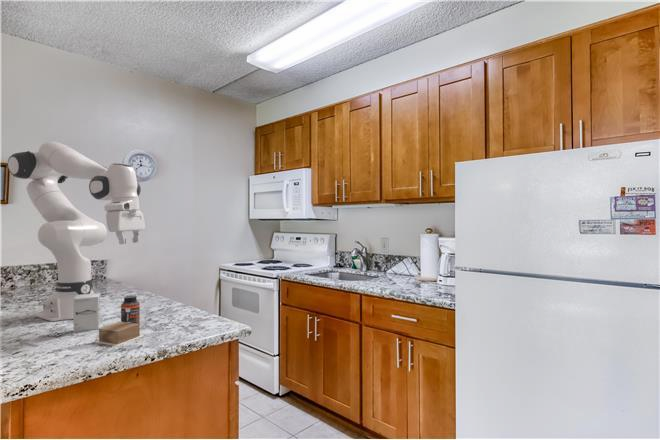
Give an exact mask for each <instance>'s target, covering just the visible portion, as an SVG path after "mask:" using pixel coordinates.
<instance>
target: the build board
mask: <svg viewBox="0 0 660 440" xmlns="http://www.w3.org/2000/svg"><path fill="white" fill-rule="evenodd" d="M142 337H145V335H144V334H140V336H139V337H136V338H133V339H131V340H128V341H126V342H123V343H121V344H112V343H106V342H99V340H96V341H93V343H97V344H102V345H108V346H109V345H110V346H115V347H118V346H122V345H124V344H126V343H130V342H132V341H134V340H137V339H140V338H142Z"/></svg>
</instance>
